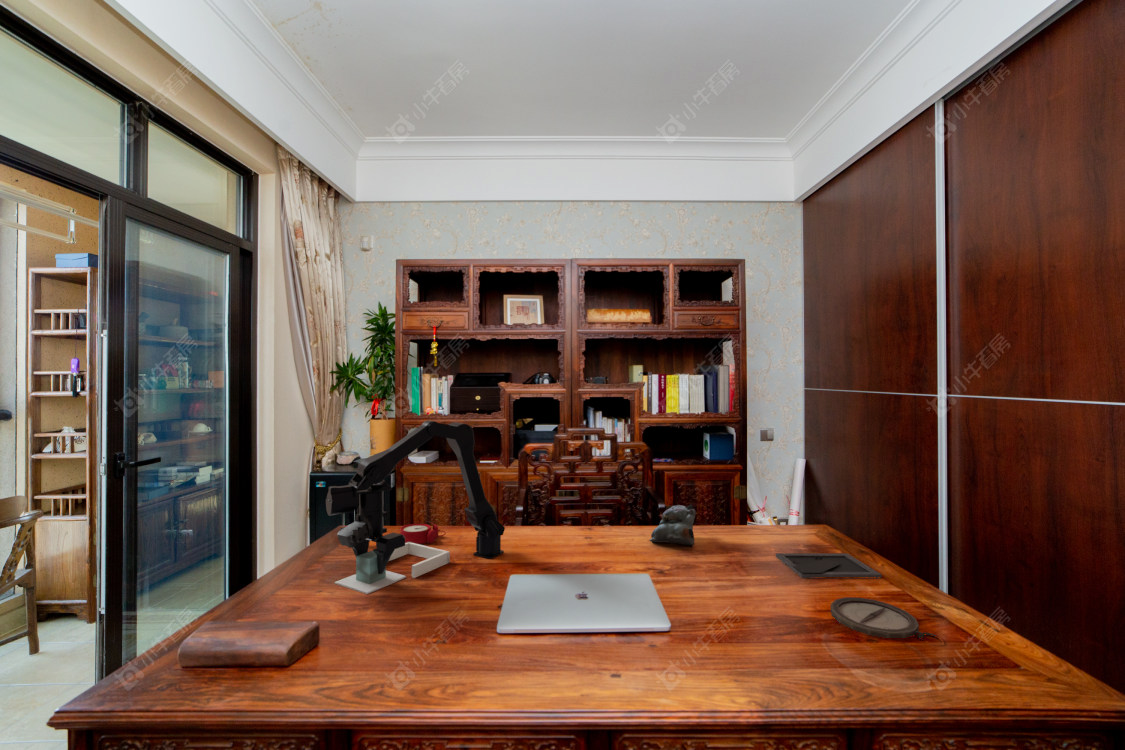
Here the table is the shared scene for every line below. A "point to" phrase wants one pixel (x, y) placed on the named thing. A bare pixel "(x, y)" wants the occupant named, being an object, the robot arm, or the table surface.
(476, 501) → the robot arm
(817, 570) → the picture frame
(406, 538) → the alarm clock
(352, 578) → the grey mat
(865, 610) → the compass
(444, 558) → the white u-shaped frame
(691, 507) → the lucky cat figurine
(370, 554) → the teal block
